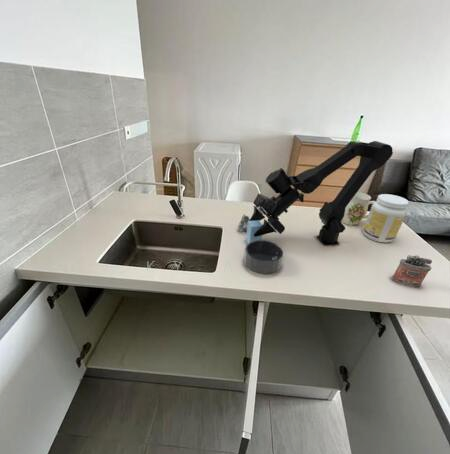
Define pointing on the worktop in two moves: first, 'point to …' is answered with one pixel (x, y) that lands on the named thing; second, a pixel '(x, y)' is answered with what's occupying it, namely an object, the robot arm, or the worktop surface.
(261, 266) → the pot
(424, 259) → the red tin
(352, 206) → the pitcher
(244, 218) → the egg carton
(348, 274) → the worktop surface
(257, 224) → the ice block
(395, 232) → the supplement tub
